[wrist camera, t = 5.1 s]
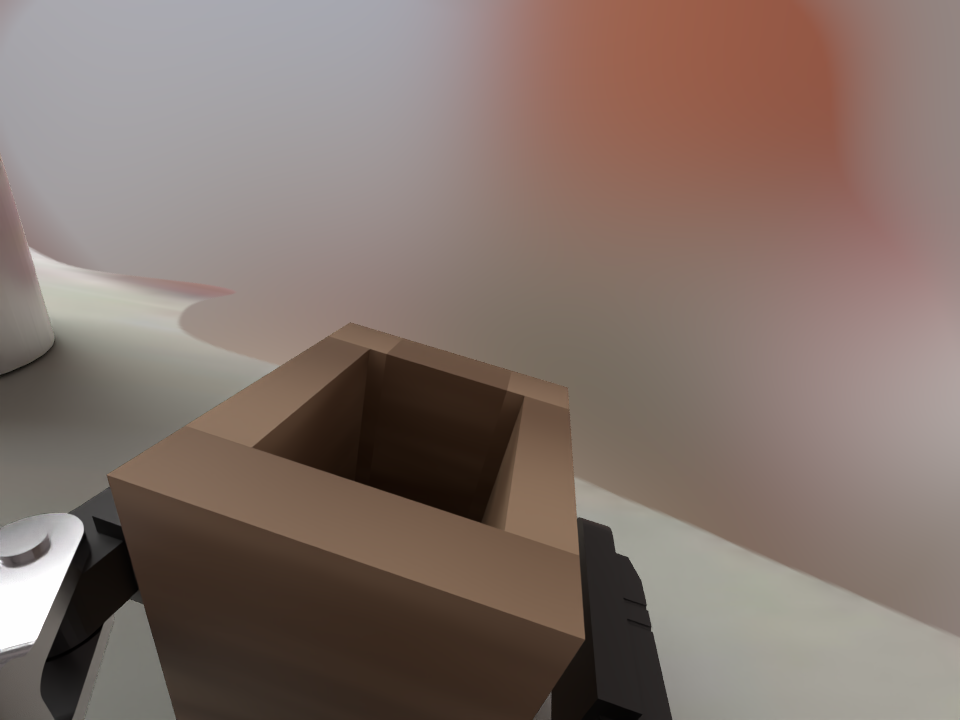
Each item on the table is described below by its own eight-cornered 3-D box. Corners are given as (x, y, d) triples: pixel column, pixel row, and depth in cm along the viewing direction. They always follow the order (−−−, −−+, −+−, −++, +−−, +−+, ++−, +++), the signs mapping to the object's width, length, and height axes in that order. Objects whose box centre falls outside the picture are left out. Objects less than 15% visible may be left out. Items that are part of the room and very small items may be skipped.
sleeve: (425, 882, 8) (584, 639, 4) (196, 791, 9) (107, 474, 4) (474, 621, 13) (567, 387, 9) (328, 570, 14) (350, 322, 9)
